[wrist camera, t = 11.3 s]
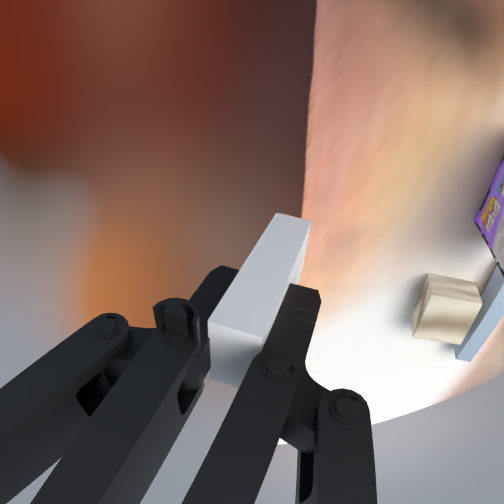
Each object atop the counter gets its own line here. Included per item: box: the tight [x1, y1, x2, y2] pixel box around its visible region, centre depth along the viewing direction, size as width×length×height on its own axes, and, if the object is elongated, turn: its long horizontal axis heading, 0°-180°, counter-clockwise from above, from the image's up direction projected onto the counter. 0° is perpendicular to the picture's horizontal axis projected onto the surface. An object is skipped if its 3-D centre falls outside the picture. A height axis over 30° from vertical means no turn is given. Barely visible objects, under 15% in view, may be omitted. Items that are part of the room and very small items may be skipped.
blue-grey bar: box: [454, 265, 504, 362], centre depth 37 cm, size 17×3×4 cm, turn 176°
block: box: [412, 273, 482, 345], centre depth 39 cm, size 8×8×5 cm
